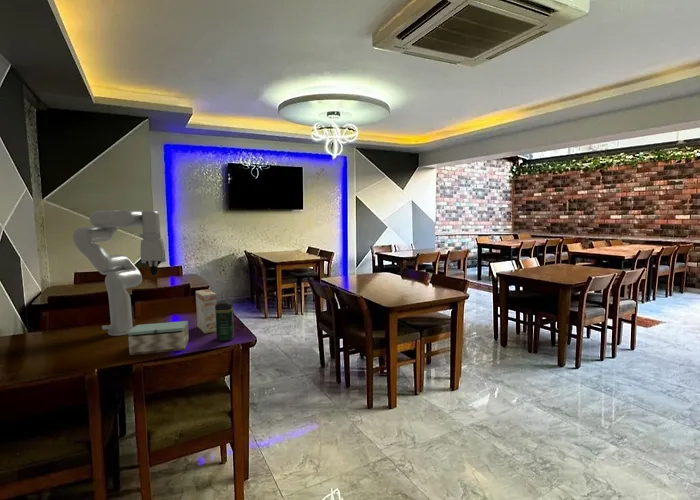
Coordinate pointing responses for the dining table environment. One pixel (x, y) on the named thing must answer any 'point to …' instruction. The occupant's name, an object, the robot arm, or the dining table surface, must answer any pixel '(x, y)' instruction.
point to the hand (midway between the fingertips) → (154, 274)
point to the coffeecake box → (206, 310)
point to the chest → (158, 342)
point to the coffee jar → (224, 320)
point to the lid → (158, 328)
